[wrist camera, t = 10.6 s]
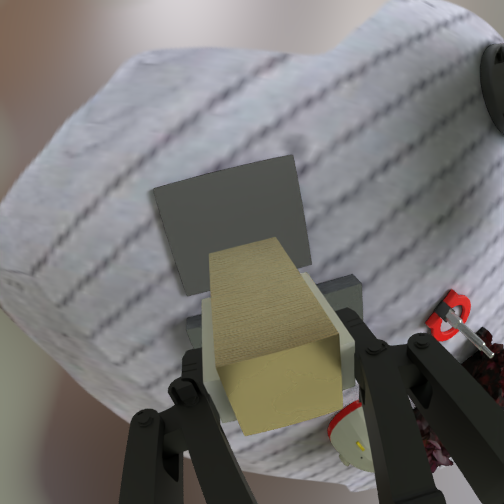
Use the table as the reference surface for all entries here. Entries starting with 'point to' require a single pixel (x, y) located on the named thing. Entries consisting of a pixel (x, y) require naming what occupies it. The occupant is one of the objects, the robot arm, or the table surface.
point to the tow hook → (454, 321)
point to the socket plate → (334, 291)
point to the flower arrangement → (487, 375)
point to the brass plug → (271, 339)
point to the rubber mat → (232, 215)
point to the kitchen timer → (351, 437)
